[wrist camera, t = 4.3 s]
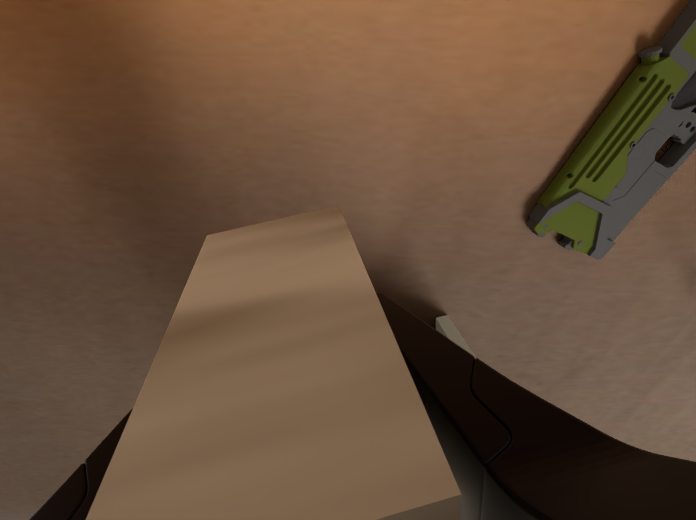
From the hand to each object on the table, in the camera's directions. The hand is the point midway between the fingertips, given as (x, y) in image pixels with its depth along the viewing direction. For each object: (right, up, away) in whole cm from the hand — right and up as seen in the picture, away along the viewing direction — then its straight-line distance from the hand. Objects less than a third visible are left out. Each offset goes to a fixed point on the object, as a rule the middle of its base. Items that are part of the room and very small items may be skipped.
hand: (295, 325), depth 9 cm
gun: (+24, +10, +14) cm, 30 cm away
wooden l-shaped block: (+1, -4, +5) cm, 7 cm away
